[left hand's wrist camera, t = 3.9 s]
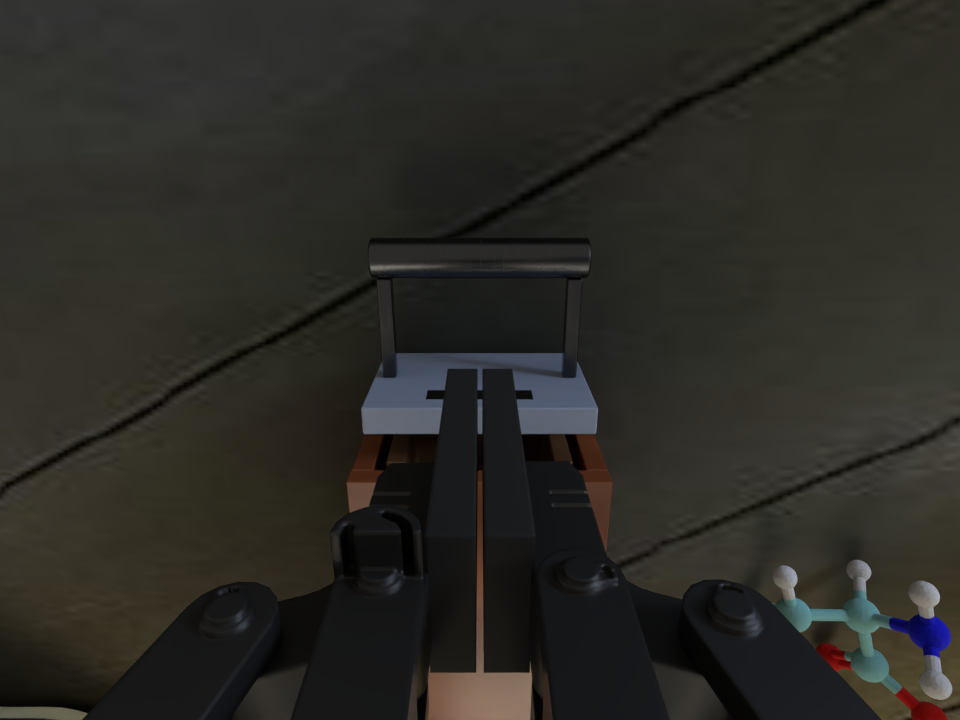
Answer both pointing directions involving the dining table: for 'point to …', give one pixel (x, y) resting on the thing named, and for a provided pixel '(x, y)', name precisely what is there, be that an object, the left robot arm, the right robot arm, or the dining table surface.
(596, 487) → the cabinet
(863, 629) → the molecular model
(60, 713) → the boat shoe
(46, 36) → the dining table surface
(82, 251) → the dining table surface
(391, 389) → the drawer
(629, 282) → the dining table surface
